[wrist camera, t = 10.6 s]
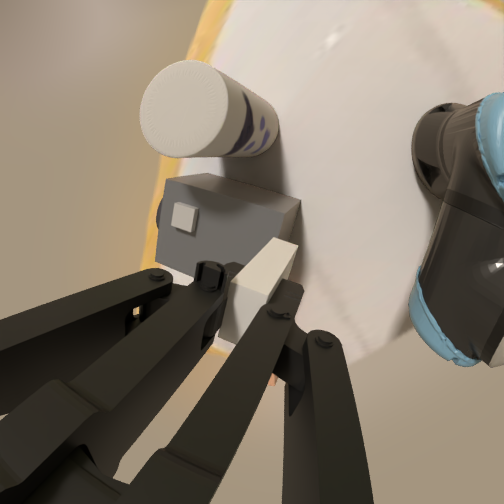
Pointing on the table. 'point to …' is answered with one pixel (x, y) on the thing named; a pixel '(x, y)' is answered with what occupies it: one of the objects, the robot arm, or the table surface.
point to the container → (205, 114)
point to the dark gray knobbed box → (218, 221)
